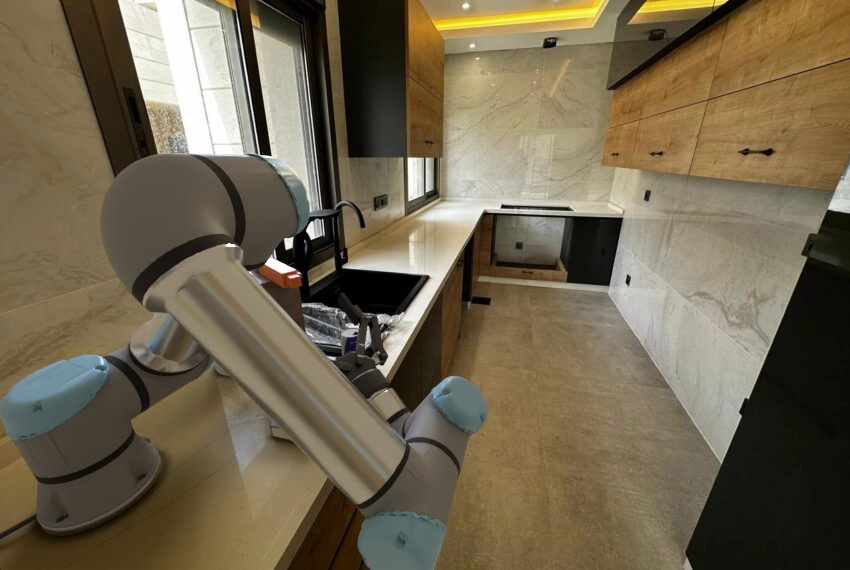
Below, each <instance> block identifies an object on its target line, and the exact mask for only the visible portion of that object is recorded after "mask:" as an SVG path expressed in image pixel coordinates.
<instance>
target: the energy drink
mask: <svg viewBox="0 0 850 570" xmlns="http://www.w3.org/2000/svg"><path fill="white" fill-rule="evenodd" d="M358 331H359V327H346V328H344V329H342V330H341V332H340V344H341V355H345V354H346V353H347V352H349V351H356V344H357V337H358Z"/></svg>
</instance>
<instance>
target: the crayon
mask: <svg viewBox="0 0 850 570" xmlns="http://www.w3.org/2000/svg"><path fill="white" fill-rule="evenodd" d="M255 271H256V272H257V273H259V274H261V275H263V276H265V277H266V278H268V279H270V280H271V281H273V282H275V283H276V284H278V285H280V286H281V287H283V288H287V287H291V288H295V287H299V288H300V287H303V282H302V278H301V276H299V275H298V274H297V271H298V270H297V269H296V268H294V267H291V266H289V265H287V264H285V263H284V262H281V261H279V260H277V259H275V258H273V257H272V256H270V258H269V259H268V261H267V262H266V264H265V265H264V266H263V267H261V268H260V269H258V270H255Z"/></svg>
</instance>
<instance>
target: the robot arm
mask: <svg viewBox="0 0 850 570" xmlns="http://www.w3.org/2000/svg"><path fill="white" fill-rule="evenodd" d="M307 194H308V191H307V189H306V187H305V184H304V183H303V180H302V179H301V177H300V176H299V174H298V173H296V171H295V170H294V169H293V168H292V167H291V166H290V165H289V164H287V163H286V162H285V161H283V160H282V159H279V158H277V157H274V156H270V155H263V154H262V155H260V154H258V153H255V152H250V153H244V154H240V153H239V154H235V153H234V154H233V153H232V154H231V153H230V154H226V153H184V152H164V153H157V154H153V155H148V156H146V157H143V158H141V159H138V160H136V161H134V162H132V163H131V164H129V165H128V166H126V167H125V168H123V170H121V171H120V172H119V173H118V174H117V175H116V176H115V178H114V179H113V180H112V182H111V184H110V185H109V186H108V188H107V190H106V192H105V194H104V196H103V197H104V198H103V201H102V204H101V210H100V217H99V226H100V235H101V241H102V246H103V248H104V251H105V254H106V257H107V259H108V262H109V264H110V265H111V268H112V270H113V271H114V273H115V275H116V276H117V278H118V279H119V280H120V282H121V283H122V284H123V286H124V288H125V289H126V290H127V291H128V292H129V293H130V295H132V296H133V298H135V300H136V301H137V302H138V303H139V304H140V305H141V306H142V307H143V308H144V309H146V311H148V312H149V313H153V315H152V316H151V319H149V320H147V321H145V322H143V323H142V324H140V325H139V326H138V327H137V328H136V329H135V330H134V331H133V333H132V335H131V338H130V340H129V342H128V344H127V345H125V346H123V347H121V348H119V349H116V350H114V351H112V352H109V353H108V354H106V355H103V356H100V355H97V354H82V355H81V354H80V355H76V356H72V357H71V358H69V359H67V360H66V359H61V360H59V361H55V362H53V363H51V364H49V365H45V366H43V367H42V368H39V369H38V370H36V371H34V372H32V373H30V374H29V375H26V377H24V378H23V379H20V381H18V382H16V383H15V384H14V385H13V386H12V387H11V388H10V389H9V390H7V392H6V394H5V395H4V396H3V397H2V398H1V401H0V419H1V422H2V425H3V427H4V432H5V434H6V436H7V437H8V438H10V439H11V440H12V441H13V443H14V445H15V447H16V449H17V450H18V452H19V453H20V456H21V457H22V458H23V460H24V461H25V463H26V465H27V466H28V468H29V470H30V472H31V473H32V474H33V476H34V478H35V480H36V482H37V490H36V510H35V514H33V515H30V516H29V517H27V518H26V519H24V520H21V521H20V522H18V523H16V524H14V525H13V526H11V527H9V528H7V529H5V530H4V531H2V532H0V540H2V539H3V538H6V537H7V536H9V535H11V534H12V533H14V532H16V531H17V530H20V529H22V528H23V527H25V526H27V525H29V524H31V523H32V522H34V521H36V520H37V522H38V524H39V525H40V526H41V529H42V530H43V531H44V532H45V533H46V534H49V535H51V536H58V537H59V536H62V537H63V536H64V537H65V536H71V535H76V534H80V533H84V532H87V531H90V530H92V529H95V528H97V527H100V526H102V525H103V524H106V523H107V522H110V521H111V520H113V519H115V518H117V517H119V516H120V515H122V514H123V513H125V512H126V511H127V510H129V509H130V508H131V507H133V506H134V505H135V504H137V502H139V501H140V500H141V499H142V498H144V496H145V495H146V494H147V493H148V492H149V491H150V490H151V489H152V488H153V486H154V485H155V484H156V482H157V481H158V479H159V478H160V475H161V473H162V469H163V461H162V458H161V455H160V454H159V453H160V452H159V451H158V450H157V449H156V448H155V446H153V445H152V442H151V439H150V437H148V436H147V437H146V436H141V435H139V434H137V433H136V431H135V429H134V426H133V424H132V420H133V419H135V418H136V417H138V416H140V415H141V414H143V413H145V412H146V411H147V410H149V409H150V408H152V407H154V406H155V405H156V404H158V403H160V402H162V400H164V399H166V398H168V397H169V396H170V395H172V394H174V393H176V392H177V391H179V390H181V388H183V387H185V386H186V385H188V384H189V383H192V382H194V381H196V380H197V379H199V378H200V377H201V376H202V375H204V373H205V372H207V371H208V370H209V369H210V368H211V367H212V365H213V364H214V363H213V360H214V361H215V362H216V363H217V364H218V365H219V366H220V367H221V368H222V369H223V370H224V371H225V372H226V373H227V374H228V375H229V376H228V377H229V378H231V379H232V381H233V382H234V383H236V385H237V386H238V387H239V388H240V389H241V390H242V391H243V392H244V393H245V394H246V395H247V396H248V397H249V398H250V399H251V400H252V401H253V402H254V404H256V405H257V406H258V407H259V409H261V411H263V412H264V414H265V415H266V416H268V417H269V419H270V420H271V421H272V423H273V422H274V423H275V424H276V425H277V426H278V427H279V428H280V429H281V430H282V431H283V432H284V433H285V434H286V435H287V436H288V437H289V438H290V439H291V440H292V441H291V442H293V444H294V445H295V446H296V447H298V448H299V450H300V451H301V452H302V453H303V454H304V455H305V456H306V457H307V458H308V459H309V460H310V461H311V462H312V463H313V464H314V465H315V466H316V467H317V468H318V469H319V470H320V471H321V472H322V474H323V475H324V476H326V478H327V479H329V481H330V482H331V483H332V484H333V485H334V486H335V487H336V488H337V489H338V490H339V491H340V492H341V493H342V494H343V495H344V496H345V497H346V498H347V499H348V500H349V501H350V502H351V503H352V504H353V505H354V506H355V507H356V509H357V510H358V511H359V512H360V514H361V515H362V516H363V517H364V520H363V521H362V523H361V528H360V531H359V535H358V538H357V549H358V552H359V553H360V555H361V556H362V560H363V562H364V564H365V565H366V566H367V568H369V569H370V570H435V569H436V566H437V562H438V559H439V555H440V552H441V549H442V546H443V543H444V540H445V538H446V537H447V532H448V524H449V519H450V514H451V510H452V506H453V503H454V498H455V493H456V488H457V485H458V481H459V478H460V475H461V471H462V468H463V463H464V460H465V456H466V451H467V447H468V443H469V440H470V439H471V436H472V435H474V434H476V433H478V432H479V430H480V429H481V427H482V426H483V425H484V424H485V423H486V421H487V419H488V415H489V410H488V403H487V401H486V399H485V397H484V395H483V394H482V392H481V390H480V389H479V388H478V387H477V386H476V385H475V384H473V383H471V382H470V381H469V380H468V379H466V378H464V377H462V376H458V375H451V376H447V377H445V378H444V379H443V380H442V381H441V382H440V383H438V384H437V385H436V386H435V387H433V388H432V389H431V390H430V392H429V393H428V395H427V396H425V398H424V399H423V400H422V401H421V403H419V405H417V407H416V408H415V409H414V410H413V411H412V412H411V411H410V410H409V408H408V407H407V406H406V404H405V402H403V400H402V398H400V396H399V394H398V393H397V391H396V390H395V389H394V388H393V387H390V382H389V381H388V379H387V378H386V377H385V375H384V374H383V372H382V371H381V369H379V368H377V366H381V367H383V366H385V364H386V363H387V360H388V358H389V354H388V353H387V351H386V349H385V348H384V342H383V338H382V333H381V328H380V323H379V318H378V316H377V315H375V314H373V315H371V316H367V315H365V314H364V312H363V311H362V309H360V306H358V305H356V304H355V305H353V303H352V302H351V301H350V299H349V298H348V297H347V295H346V294H345V292H341V293H339V295H338V299H337V304H338V305H339V307H340V308H341V309H342V311H343V313H345V315H346V317H348V319H349V321H350V322H351V324H353V327H356V326H358V329H359V331H358V337H357V344H356V351H349V352H347V353H346V354H345V355H342V354H341V355H337V356H336V357H335V359H331V358H329V357H328V356H327V355H326V353H325V352H324V351H323V350H322V349H321V348H320V347H319V346H318V345H317V344H316V343H315V341H313V340H312V338H311V337H310V336H309V335H308V334H307V332H306V333H305V332H304V331H303V330H302V329H301V328H300V327H299V326H298V324H297V323H296V322H295V321H294V320H293V319H292V318H291V317H290V316H289V315H288V314H287V313H286V312H285V310H284V309H283V308H282V307H281V306H280V305H279V304H278V303H277V302H276V301H275V300H274V299H273V298H272V296H271V295H270V294H269V293H268V292H267V291H266V290H265V289H264V288H263V287H262V286H261V285H260V283H259V282H258V281H257V280H256V279H255V278H254V277H253V276H252V275H251V274H250V273H249V272H252V271H255V270H258V269H260V268H261V267H263V266H264V265H265V264H266V262H267V261H268V259H269V258H270V257H272V255H273V253H274V252H275V250H276V248H278V246H279V245H280V243H281V242H282V241H283V240H285V239H292V238H294V237H296V236H297V235H298V234H300V233H301V232H302V231H304V229H305V228H306V226H307V224H308V223H309V219H310V214H311V207H310V201H309V199H308V195H307ZM368 329H369V336H370V341H371V342H370V343H371V347H372V353H373V356H372V357H370V356H368V355H365V353H366V342H367V334H368Z"/></svg>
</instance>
